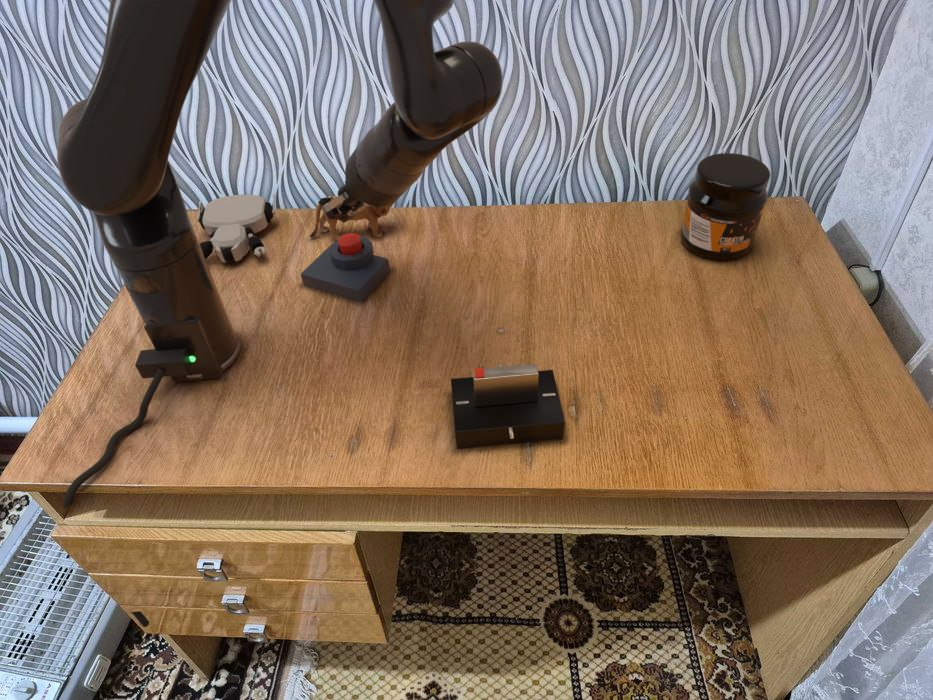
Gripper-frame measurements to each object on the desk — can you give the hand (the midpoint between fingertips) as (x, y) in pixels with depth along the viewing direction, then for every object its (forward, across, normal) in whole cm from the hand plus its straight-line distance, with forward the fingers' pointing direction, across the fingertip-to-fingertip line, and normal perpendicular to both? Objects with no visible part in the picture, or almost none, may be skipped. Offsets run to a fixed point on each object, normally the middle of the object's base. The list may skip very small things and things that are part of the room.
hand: (342, 214), depth 92 cm
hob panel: (-19, +5, +32) cm, 37 cm away
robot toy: (+21, +8, -7) cm, 24 cm away
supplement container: (-18, -41, +32) cm, 55 cm away
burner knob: (-21, +5, +30) cm, 37 cm away
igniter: (+6, +2, +7) cm, 10 cm away
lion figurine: (+12, -7, +2) cm, 14 cm away
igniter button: (+4, 0, +4) cm, 6 cm away
